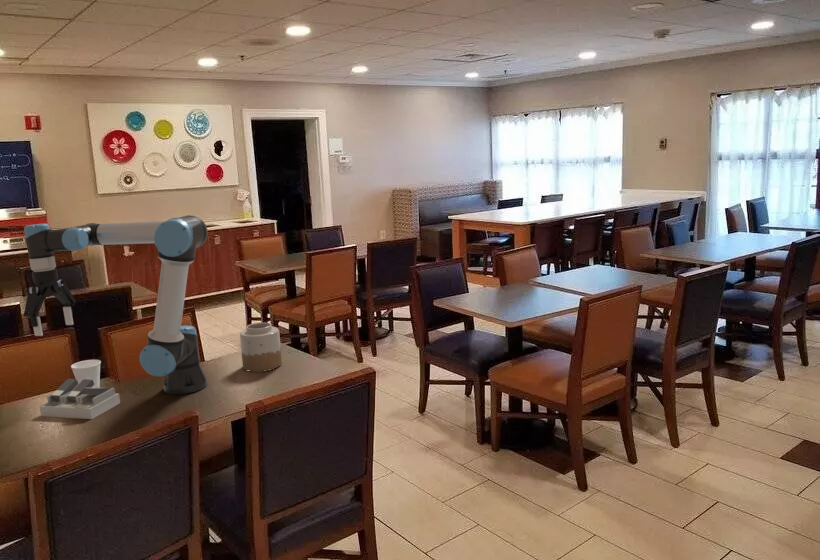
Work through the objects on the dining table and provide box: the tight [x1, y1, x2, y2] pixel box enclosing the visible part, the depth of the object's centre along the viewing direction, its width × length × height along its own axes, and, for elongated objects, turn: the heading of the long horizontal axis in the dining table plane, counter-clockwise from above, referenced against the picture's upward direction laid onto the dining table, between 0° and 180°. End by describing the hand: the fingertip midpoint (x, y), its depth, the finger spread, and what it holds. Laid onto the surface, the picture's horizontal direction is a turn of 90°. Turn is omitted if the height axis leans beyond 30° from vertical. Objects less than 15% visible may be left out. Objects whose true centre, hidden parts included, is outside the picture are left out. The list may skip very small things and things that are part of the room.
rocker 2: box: [67, 379, 94, 402], centre depth 220 cm, size 4×9×2 cm, turn 166°
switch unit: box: [39, 386, 121, 420], centre depth 219 cm, size 20×14×6 cm
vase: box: [239, 322, 283, 372], centre depth 256 cm, size 15×15×17 cm
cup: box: [70, 359, 102, 388], centre depth 235 cm, size 10×10×11 cm
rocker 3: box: [83, 387, 112, 395], centre depth 218 cm, size 4×9×2 cm, turn 166°
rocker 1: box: [50, 378, 79, 401], centre depth 221 cm, size 4×9×2 cm, turn 166°
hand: (54, 330), depth 222 cm, fingers open, 13 cm apart
